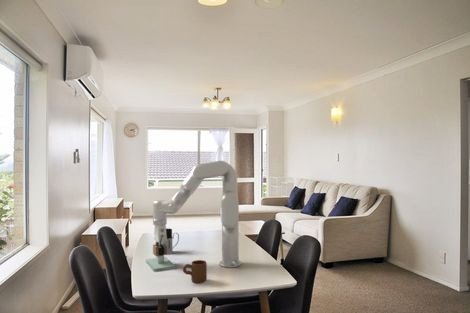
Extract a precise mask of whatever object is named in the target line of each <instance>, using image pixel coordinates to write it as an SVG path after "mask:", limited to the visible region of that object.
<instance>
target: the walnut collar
mask: <svg viewBox="0 0 470 313" xmlns="http://www.w3.org/2000/svg"><path fill="white" fill-rule="evenodd" d="M160 245H161V244H160ZM152 254H153V255H154V256H155V257H156V256H161V255H159V244H152ZM164 256H167V246H166V245H165V244H164Z"/></svg>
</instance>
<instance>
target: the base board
mask: <svg viewBox="0 0 470 313" xmlns="http://www.w3.org/2000/svg"><path fill="white" fill-rule="evenodd" d="M145 263H146V264H147V265H148V266H149V267H150V268H151V270H152V271H153V272H161V271H167V270H173V269H176V264H175V263H173V262H172V261H171V260H170V259H169V258H168V257H167V256H164V263H160V264H158V263H157V262H156V257H154V258H149V259H148V258H147V259H145Z"/></svg>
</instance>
